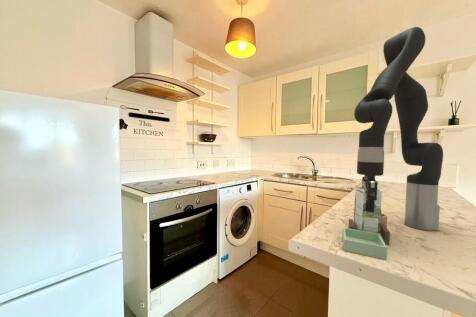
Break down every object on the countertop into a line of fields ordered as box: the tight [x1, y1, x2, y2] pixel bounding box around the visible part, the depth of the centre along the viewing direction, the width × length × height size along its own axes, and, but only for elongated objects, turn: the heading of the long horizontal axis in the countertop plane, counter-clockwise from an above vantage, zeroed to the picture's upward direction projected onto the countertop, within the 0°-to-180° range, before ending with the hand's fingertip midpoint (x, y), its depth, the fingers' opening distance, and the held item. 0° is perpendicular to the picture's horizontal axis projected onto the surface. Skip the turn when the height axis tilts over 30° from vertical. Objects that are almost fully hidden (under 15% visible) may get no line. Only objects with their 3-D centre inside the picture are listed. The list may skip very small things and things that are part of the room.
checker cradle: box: [347, 218, 391, 246], centre depth 68 cm, size 11×8×4 cm
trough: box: [342, 227, 388, 260], centre depth 61 cm, size 10×10×3 cm
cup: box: [379, 212, 388, 232], centre depth 74 cm, size 6×6×6 cm
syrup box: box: [353, 186, 383, 233], centre depth 68 cm, size 6×6×14 cm
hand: (368, 208), depth 68 cm, fingers closed on syrup box, 7 cm apart
